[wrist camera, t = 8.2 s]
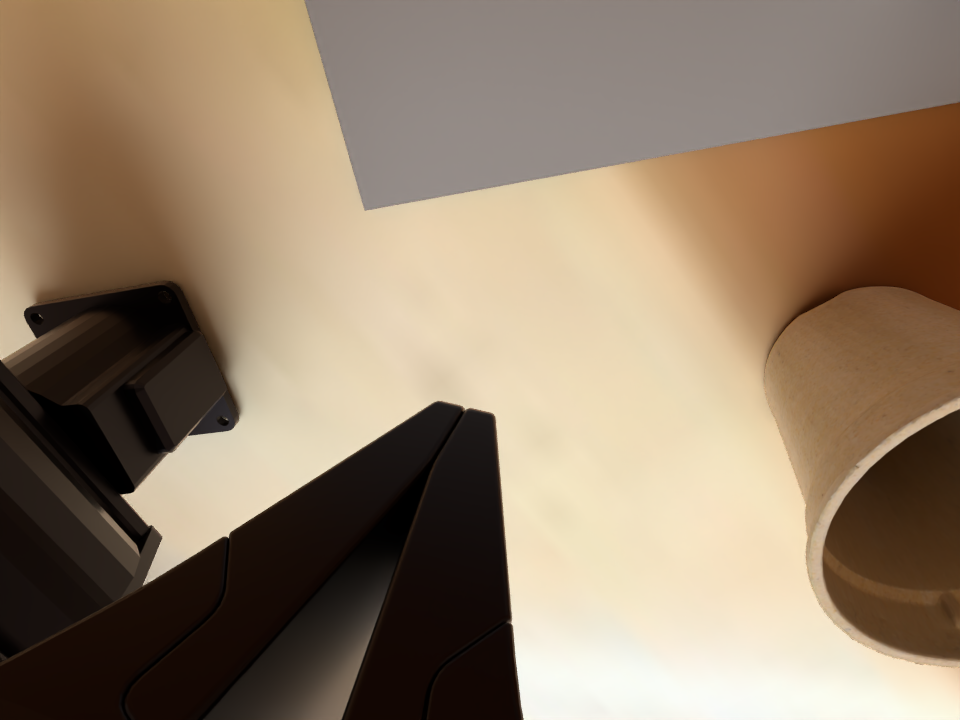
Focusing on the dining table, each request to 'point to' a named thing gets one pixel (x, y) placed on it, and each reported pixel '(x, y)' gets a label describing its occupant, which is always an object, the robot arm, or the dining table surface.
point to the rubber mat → (609, 80)
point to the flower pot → (877, 464)
